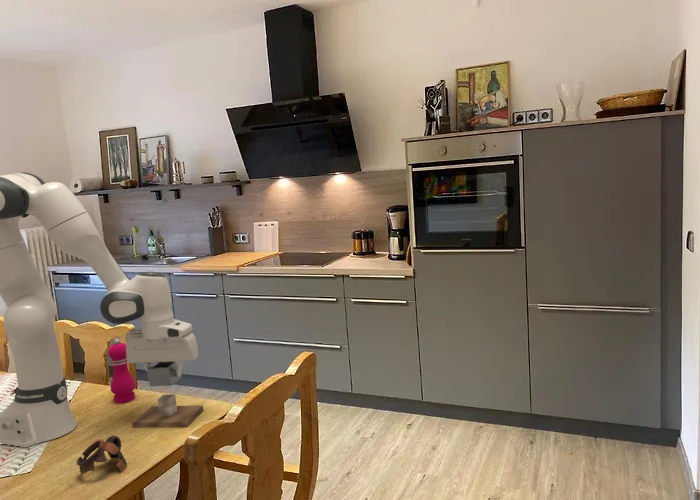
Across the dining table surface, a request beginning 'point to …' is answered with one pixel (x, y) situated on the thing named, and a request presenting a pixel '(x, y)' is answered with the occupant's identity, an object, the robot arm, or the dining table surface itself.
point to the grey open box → (162, 374)
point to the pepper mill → (121, 374)
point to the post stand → (168, 414)
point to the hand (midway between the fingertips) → (165, 376)
